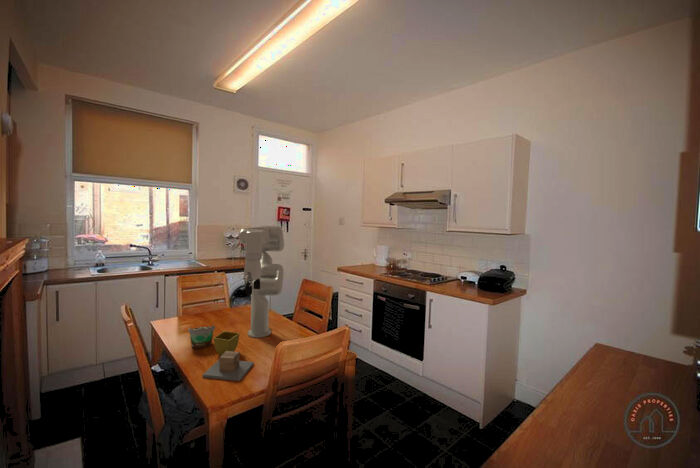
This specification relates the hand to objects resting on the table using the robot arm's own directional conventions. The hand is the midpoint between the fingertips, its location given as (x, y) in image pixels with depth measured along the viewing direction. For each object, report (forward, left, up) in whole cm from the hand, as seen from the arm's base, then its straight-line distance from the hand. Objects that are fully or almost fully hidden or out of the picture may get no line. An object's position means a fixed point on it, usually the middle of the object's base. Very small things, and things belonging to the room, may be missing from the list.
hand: (252, 291), depth 153 cm
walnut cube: (+19, -2, -29) cm, 35 cm away
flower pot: (+4, -11, -31) cm, 33 cm away
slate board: (+19, -2, -30) cm, 36 cm away
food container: (0, -26, -31) cm, 40 cm away
